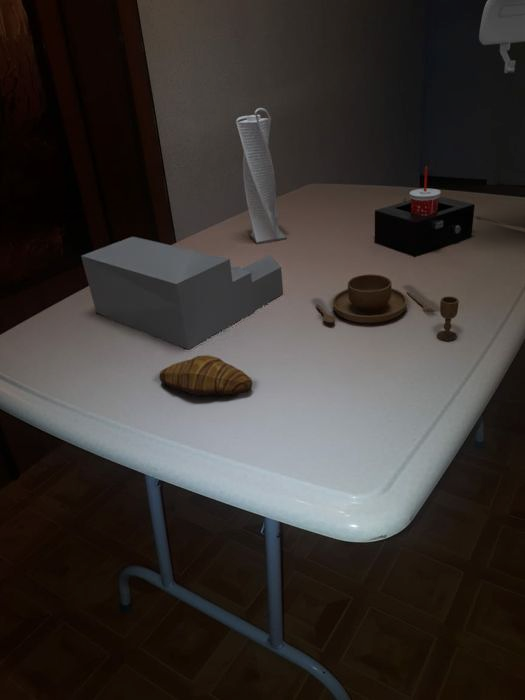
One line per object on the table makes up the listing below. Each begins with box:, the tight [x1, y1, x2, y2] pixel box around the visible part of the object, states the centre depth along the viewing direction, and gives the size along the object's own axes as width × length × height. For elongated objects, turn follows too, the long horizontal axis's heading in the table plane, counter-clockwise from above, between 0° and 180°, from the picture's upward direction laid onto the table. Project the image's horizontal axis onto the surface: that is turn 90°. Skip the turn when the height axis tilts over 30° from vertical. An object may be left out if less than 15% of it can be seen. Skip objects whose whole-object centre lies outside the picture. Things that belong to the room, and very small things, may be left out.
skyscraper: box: [235, 107, 287, 245], centre depth 121 cm, size 8×8×28 cm
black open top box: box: [374, 196, 476, 258], centre depth 115 cm, size 16×13×7 cm
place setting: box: [315, 273, 460, 342], centre depth 86 cm, size 18×20×6 cm
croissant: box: [159, 354, 253, 396], centre depth 74 cm, size 14×7×5 cm, turn 71°
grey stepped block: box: [80, 236, 284, 350], centre depth 98 cm, size 25×23×11 cm
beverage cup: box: [409, 166, 442, 216], centre depth 114 cm, size 6×6×14 cm
